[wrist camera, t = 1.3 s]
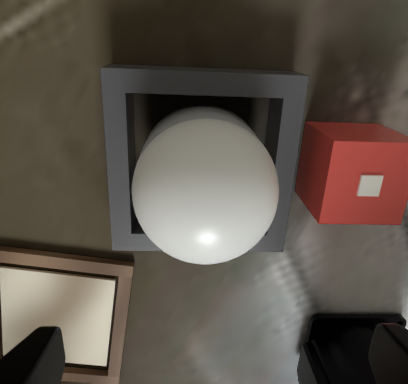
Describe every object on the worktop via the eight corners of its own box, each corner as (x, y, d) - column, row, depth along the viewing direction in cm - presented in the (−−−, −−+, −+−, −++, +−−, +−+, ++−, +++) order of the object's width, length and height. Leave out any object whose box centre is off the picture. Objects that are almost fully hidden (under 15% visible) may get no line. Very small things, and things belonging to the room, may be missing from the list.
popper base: (389, 74, 18) (442, 84, 15) (353, 230, 22) (389, 270, 18) (111, 63, 18) (91, 70, 14) (120, 227, 21) (106, 268, 17)
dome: (268, 106, 17) (310, 140, 11) (255, 220, 19) (285, 296, 14) (138, 102, 17) (115, 135, 11) (142, 219, 19) (124, 296, 13)
